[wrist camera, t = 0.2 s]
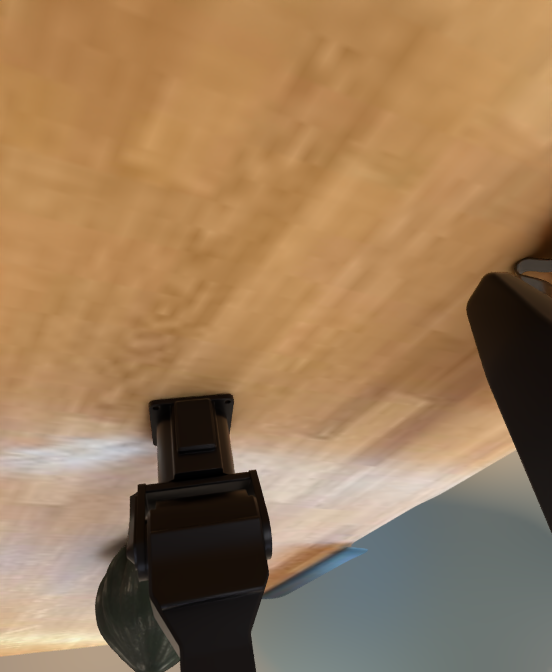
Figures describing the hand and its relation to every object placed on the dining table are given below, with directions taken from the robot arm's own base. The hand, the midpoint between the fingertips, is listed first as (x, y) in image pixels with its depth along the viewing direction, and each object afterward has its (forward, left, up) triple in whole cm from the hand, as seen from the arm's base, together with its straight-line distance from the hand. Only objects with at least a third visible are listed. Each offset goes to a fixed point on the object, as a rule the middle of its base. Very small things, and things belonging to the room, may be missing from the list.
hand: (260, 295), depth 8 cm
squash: (-59, +4, -15) cm, 61 cm away
